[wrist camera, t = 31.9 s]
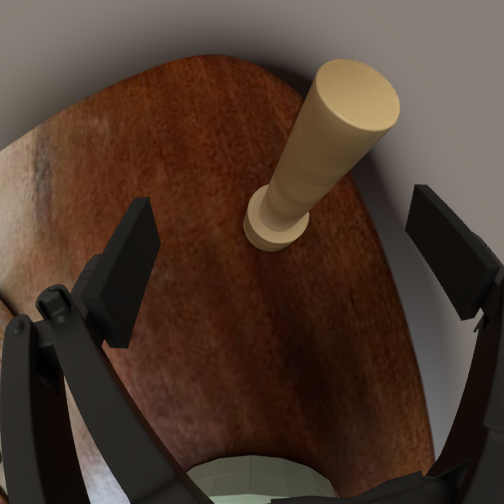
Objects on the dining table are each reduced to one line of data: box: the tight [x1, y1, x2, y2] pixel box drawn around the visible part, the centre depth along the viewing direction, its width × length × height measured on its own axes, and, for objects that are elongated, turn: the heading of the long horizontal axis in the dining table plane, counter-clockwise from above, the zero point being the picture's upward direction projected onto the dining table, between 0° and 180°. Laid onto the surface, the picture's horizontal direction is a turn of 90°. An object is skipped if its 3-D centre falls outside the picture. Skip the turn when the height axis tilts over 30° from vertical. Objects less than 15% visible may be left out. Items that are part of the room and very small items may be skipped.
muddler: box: [244, 59, 400, 252], centre depth 17 cm, size 4×4×18 cm
